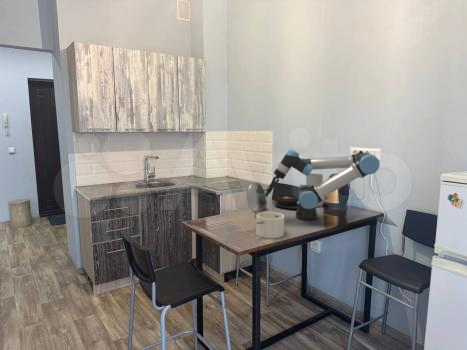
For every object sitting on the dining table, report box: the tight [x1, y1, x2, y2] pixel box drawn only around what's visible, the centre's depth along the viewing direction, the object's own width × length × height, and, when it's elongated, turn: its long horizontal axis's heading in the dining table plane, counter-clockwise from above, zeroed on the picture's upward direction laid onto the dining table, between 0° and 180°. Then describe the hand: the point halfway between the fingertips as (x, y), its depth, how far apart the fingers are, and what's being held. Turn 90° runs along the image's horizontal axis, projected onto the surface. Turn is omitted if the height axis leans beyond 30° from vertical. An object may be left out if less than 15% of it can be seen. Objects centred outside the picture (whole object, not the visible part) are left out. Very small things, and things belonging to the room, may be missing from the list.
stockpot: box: [254, 211, 285, 239], centre depth 198 cm, size 17×23×11 cm
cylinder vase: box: [305, 173, 324, 208], centre depth 265 cm, size 12×12×25 cm
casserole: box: [272, 194, 299, 210], centre depth 262 cm, size 25×19×8 cm
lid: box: [245, 182, 266, 215], centre depth 202 cm, size 18×17×2 cm
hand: (263, 197), depth 222 cm, fingers open, 13 cm apart
